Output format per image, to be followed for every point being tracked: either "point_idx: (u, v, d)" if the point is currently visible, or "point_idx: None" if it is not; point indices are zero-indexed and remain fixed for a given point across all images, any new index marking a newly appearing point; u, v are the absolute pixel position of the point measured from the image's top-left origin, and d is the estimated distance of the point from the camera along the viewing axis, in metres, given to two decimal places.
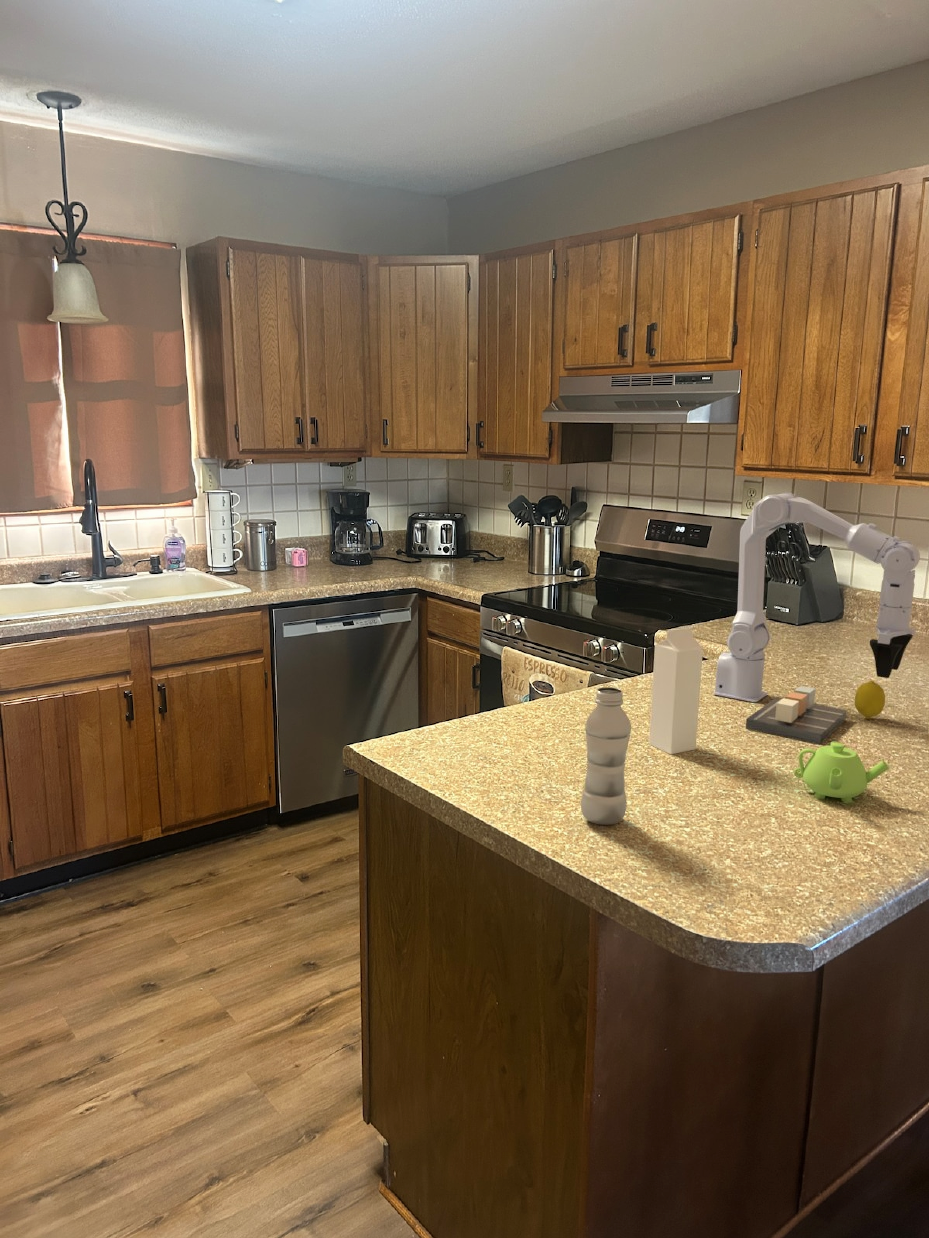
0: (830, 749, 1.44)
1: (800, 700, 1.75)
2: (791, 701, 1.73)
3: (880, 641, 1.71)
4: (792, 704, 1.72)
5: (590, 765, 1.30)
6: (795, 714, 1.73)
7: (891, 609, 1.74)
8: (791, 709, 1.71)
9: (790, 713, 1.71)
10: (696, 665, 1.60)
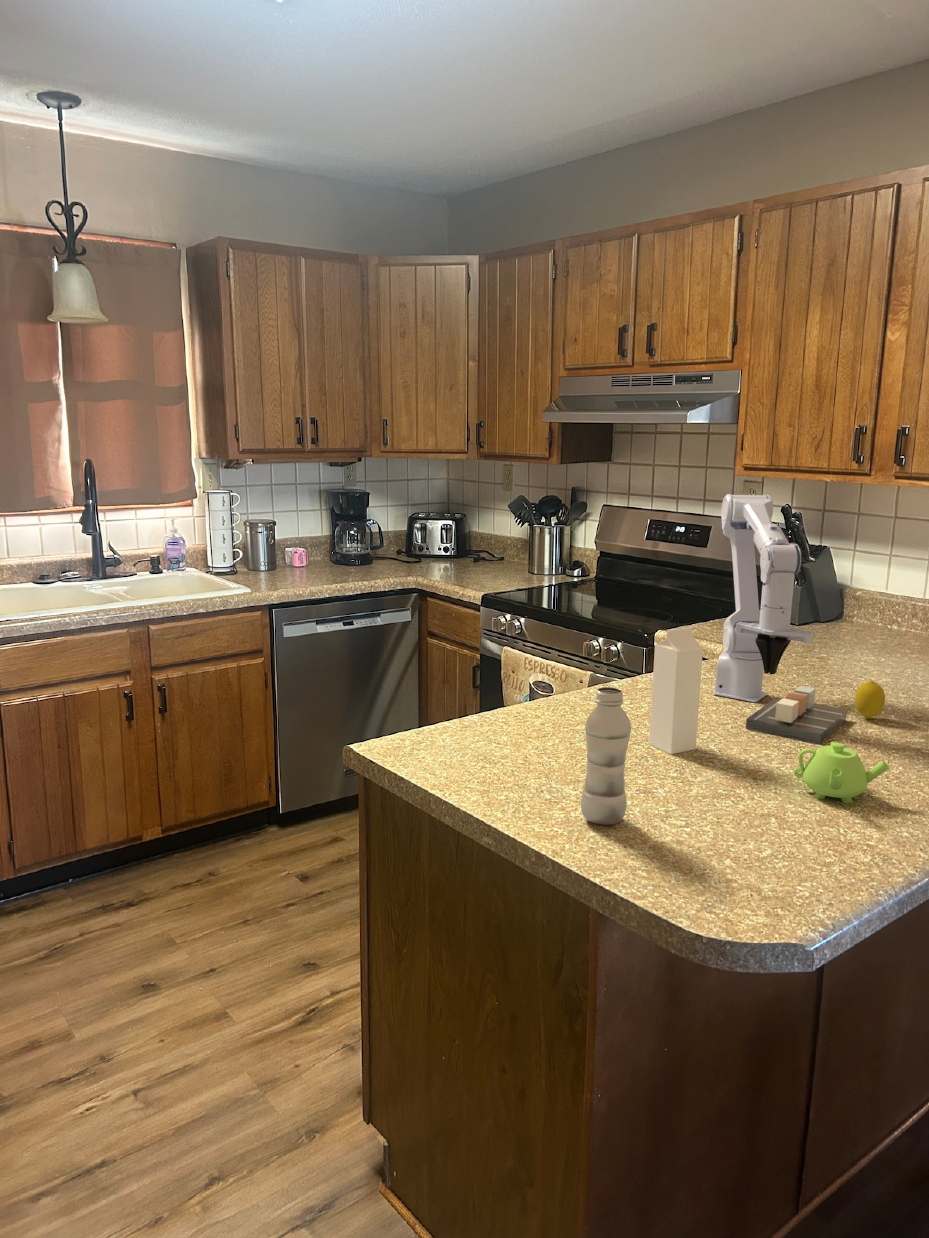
0: (830, 749, 1.44)
1: (800, 700, 1.75)
2: (791, 701, 1.73)
3: None
4: (792, 704, 1.72)
5: (590, 765, 1.30)
6: (795, 714, 1.73)
7: None
8: (791, 709, 1.71)
9: (790, 713, 1.71)
10: (696, 665, 1.60)
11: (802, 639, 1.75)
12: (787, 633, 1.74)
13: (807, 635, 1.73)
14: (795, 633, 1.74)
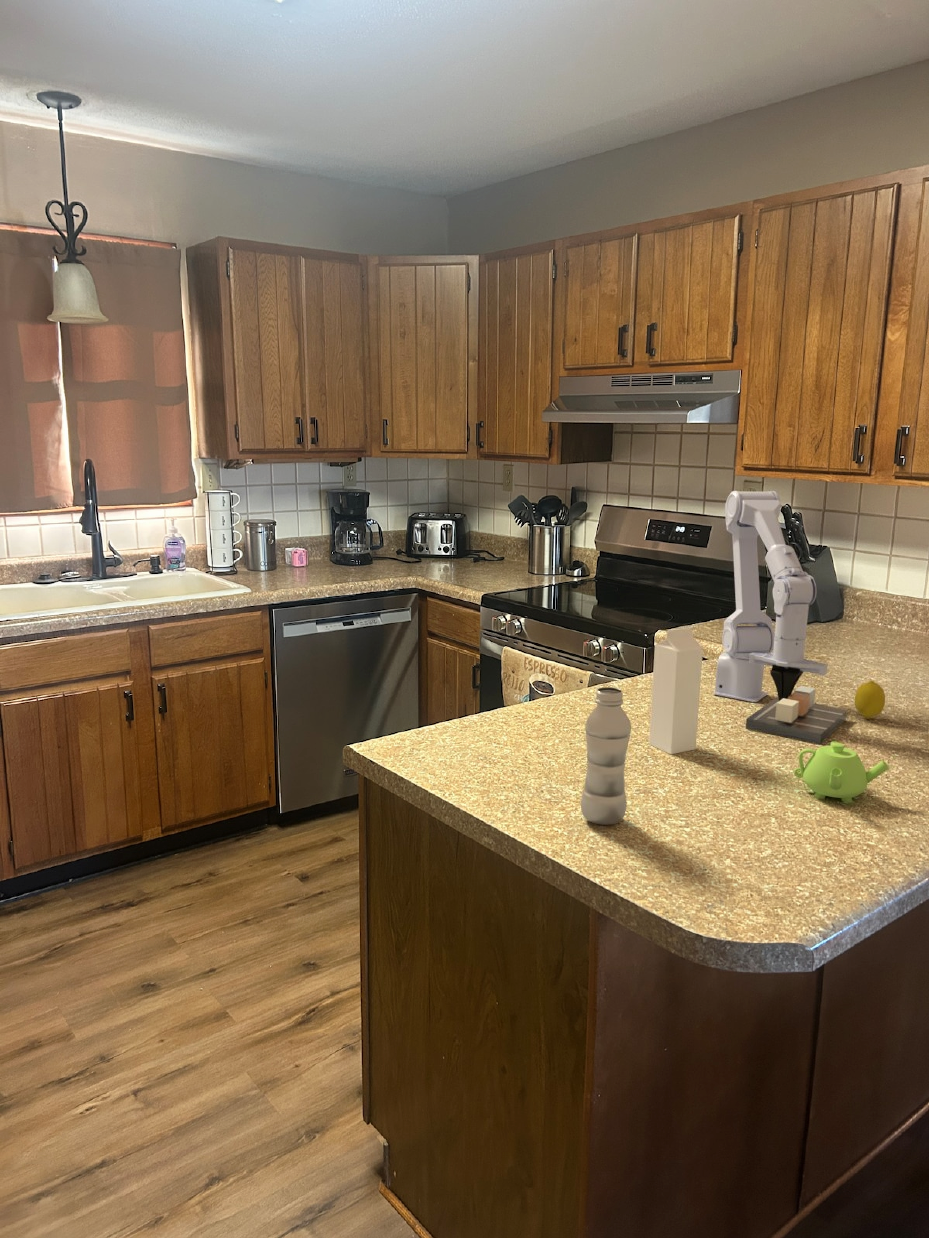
0: (830, 749, 1.44)
1: (802, 700, 1.75)
2: (791, 701, 1.73)
3: None
4: (792, 704, 1.72)
5: (590, 765, 1.30)
6: (795, 714, 1.73)
7: None
8: (791, 709, 1.71)
9: (790, 713, 1.71)
10: (696, 665, 1.60)
11: (816, 671, 1.74)
12: (801, 665, 1.74)
13: (821, 667, 1.72)
14: (809, 665, 1.73)
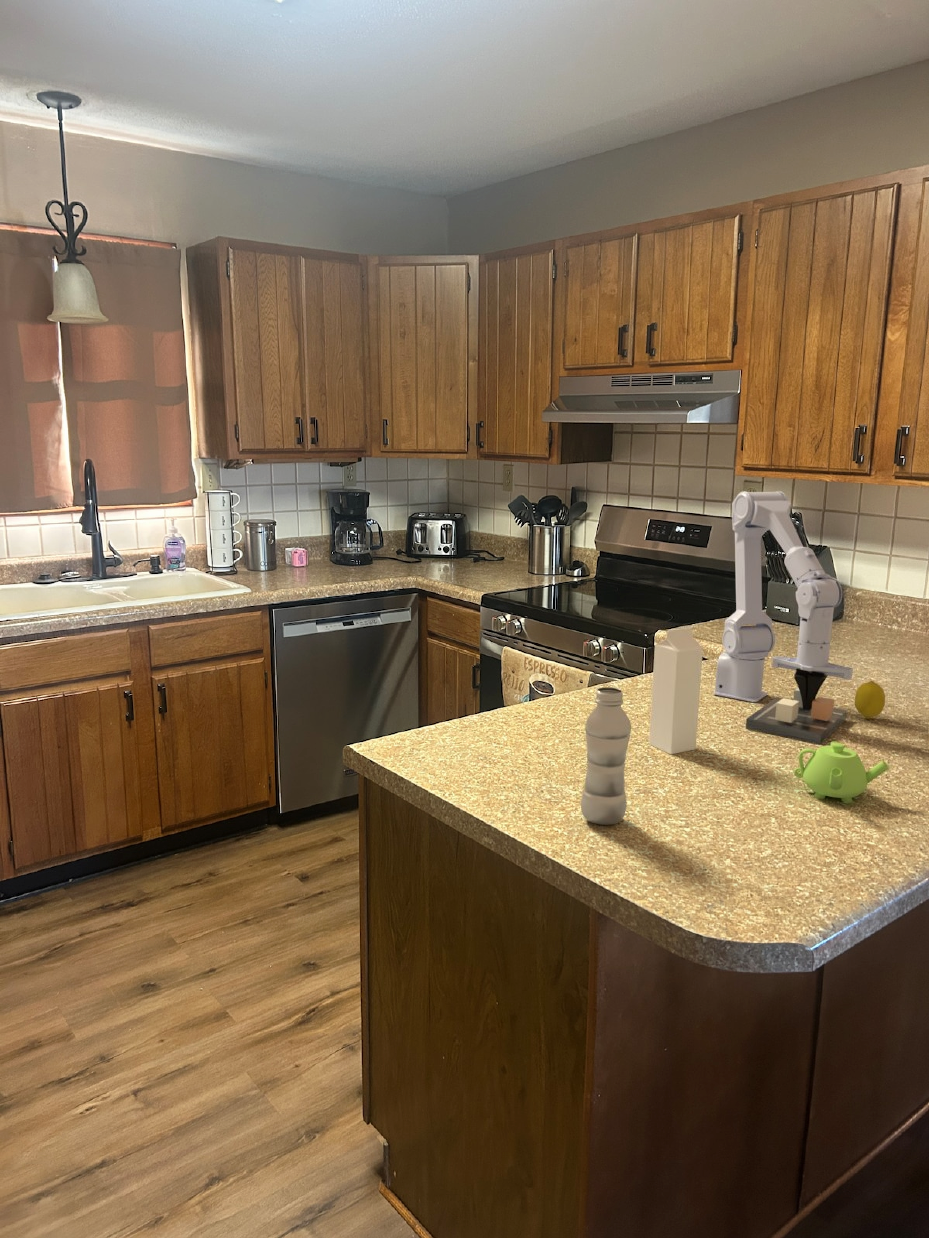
0: (830, 749, 1.44)
1: (827, 705, 1.72)
2: (791, 701, 1.73)
3: None
4: (792, 704, 1.72)
5: (590, 765, 1.30)
6: (795, 714, 1.73)
7: None
8: (791, 709, 1.71)
9: (790, 713, 1.71)
10: (696, 665, 1.60)
11: (841, 675, 1.71)
12: (826, 669, 1.71)
13: (847, 671, 1.70)
14: (834, 669, 1.71)
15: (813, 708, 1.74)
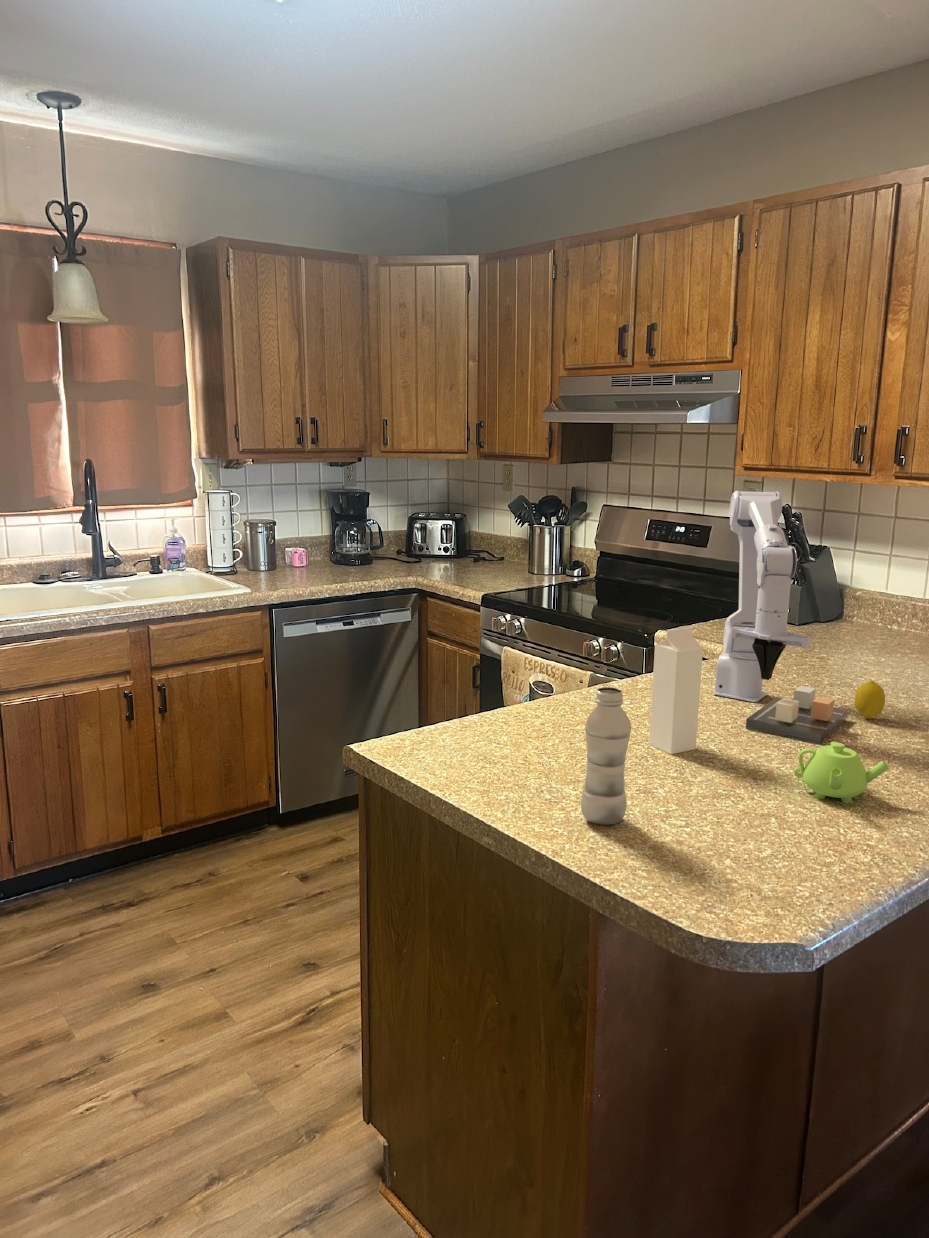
0: (830, 749, 1.44)
1: (827, 705, 1.72)
2: (791, 701, 1.73)
3: None
4: (792, 704, 1.72)
5: (590, 765, 1.30)
6: (795, 714, 1.73)
7: None
8: (791, 709, 1.71)
9: (790, 713, 1.71)
10: (696, 665, 1.60)
11: (798, 644, 1.71)
12: (784, 638, 1.70)
13: (804, 640, 1.69)
14: (792, 638, 1.70)
15: (813, 708, 1.74)
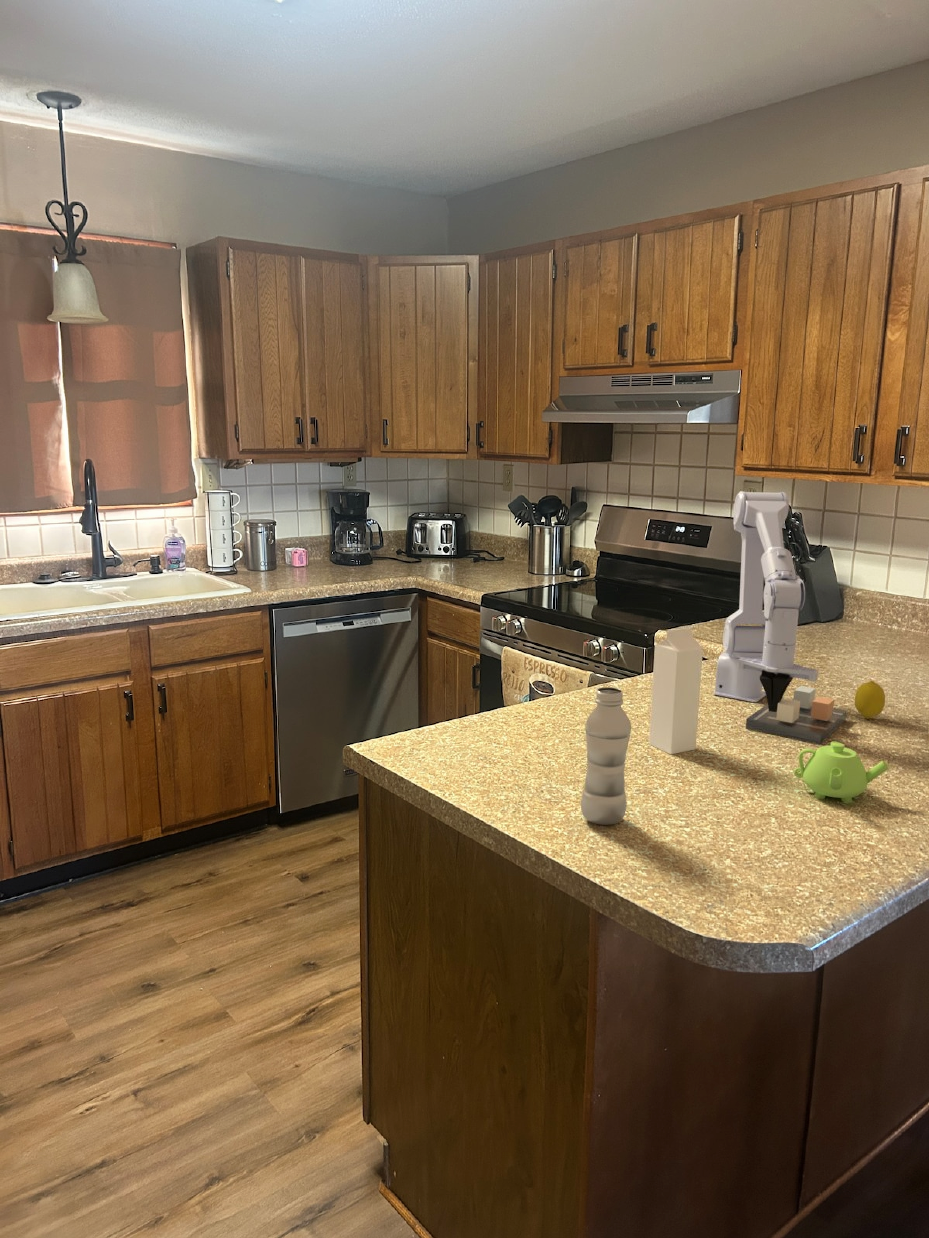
0: (830, 749, 1.44)
1: (827, 705, 1.72)
2: (792, 701, 1.73)
3: None
4: (793, 704, 1.71)
5: (590, 765, 1.30)
6: (796, 714, 1.73)
7: None
8: (792, 709, 1.71)
9: (791, 713, 1.71)
10: (696, 665, 1.60)
11: (806, 677, 1.70)
12: (791, 670, 1.69)
13: (811, 673, 1.68)
14: (799, 671, 1.69)
15: (813, 708, 1.74)
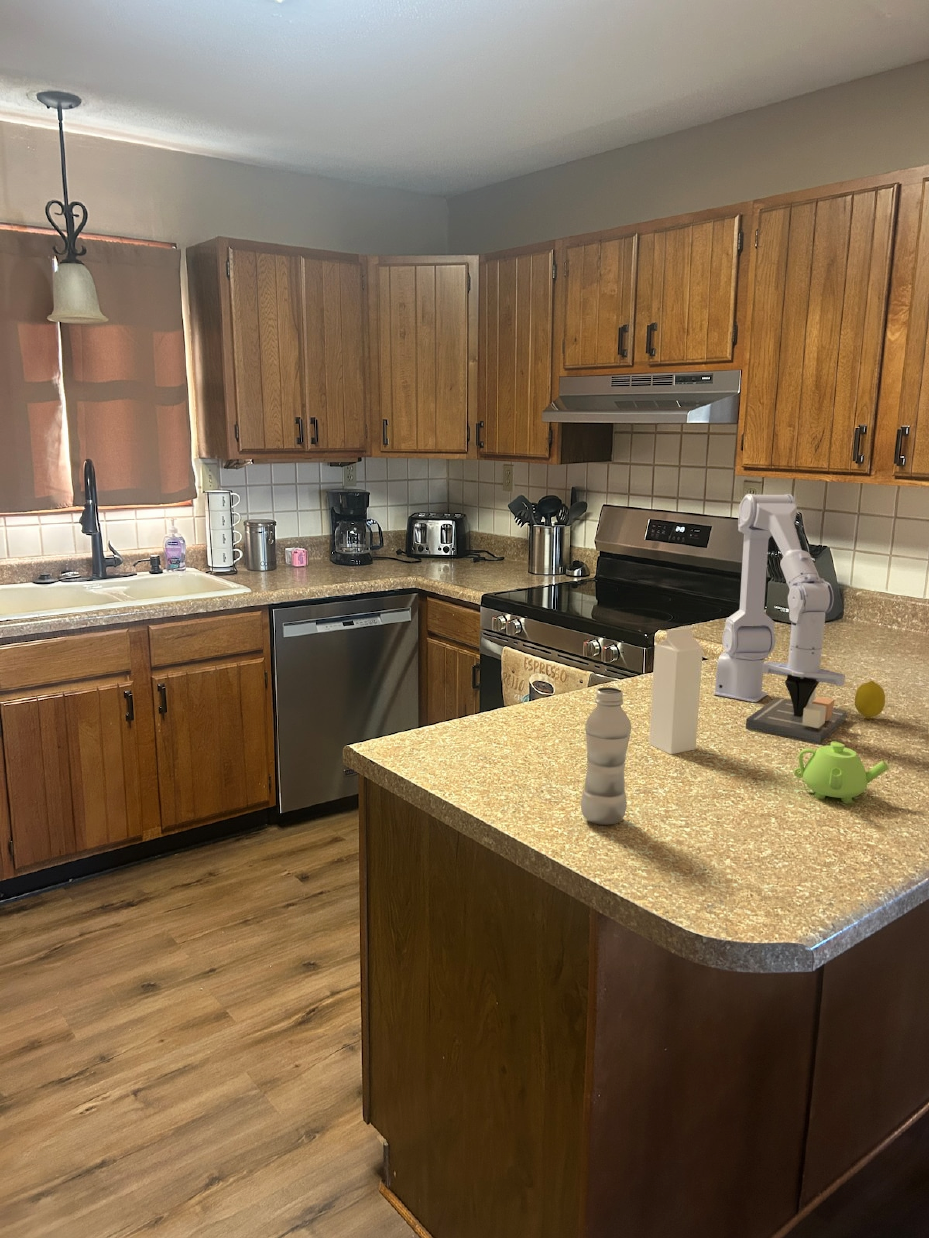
0: (830, 749, 1.44)
1: (827, 705, 1.72)
2: (818, 706, 1.70)
3: None
4: (820, 709, 1.69)
5: (590, 765, 1.30)
6: (822, 719, 1.70)
7: None
8: (819, 714, 1.68)
9: (818, 718, 1.68)
10: (696, 665, 1.60)
11: (833, 681, 1.67)
12: (818, 675, 1.67)
13: (839, 677, 1.66)
14: (826, 675, 1.66)
15: None
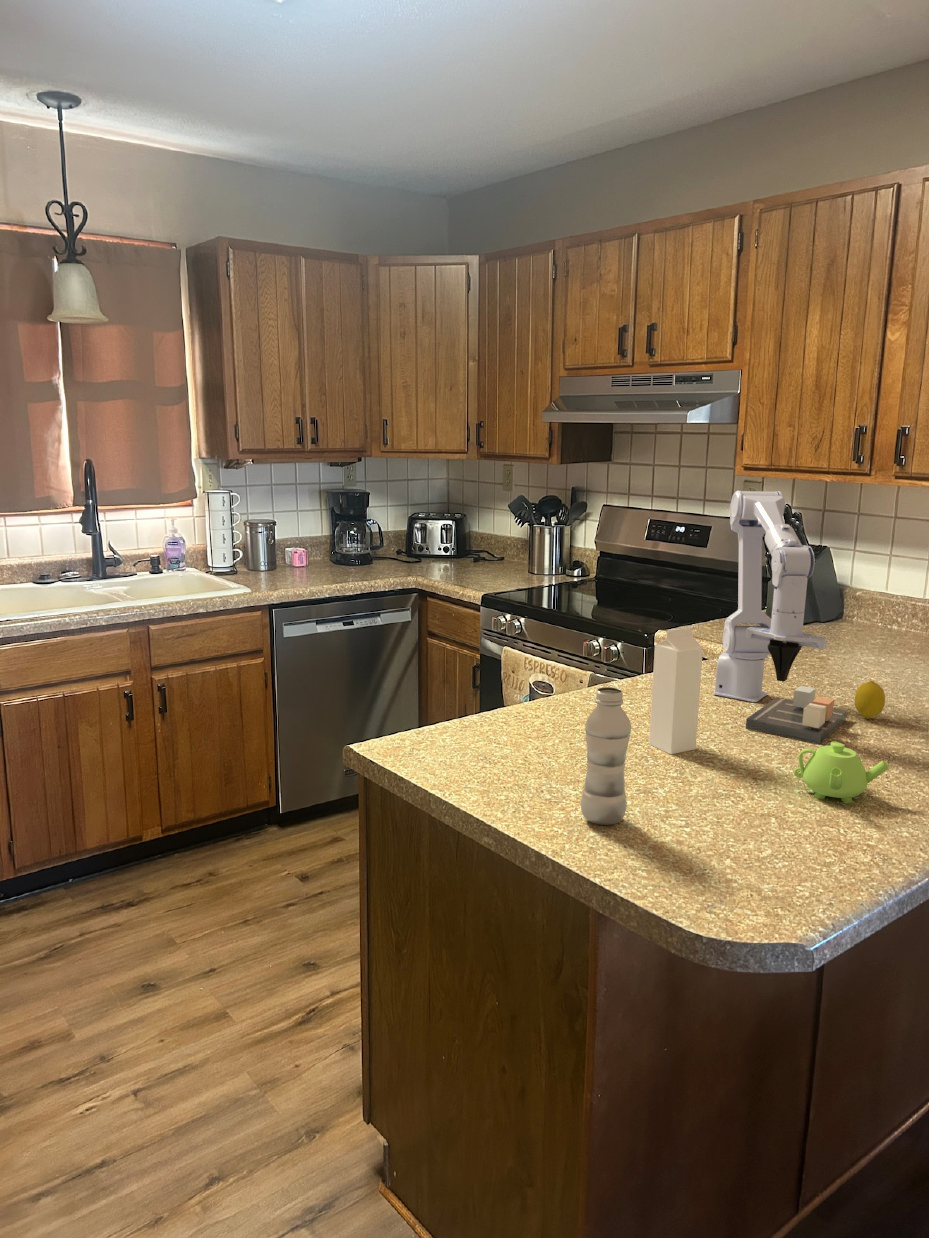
0: (830, 749, 1.44)
1: (827, 705, 1.72)
2: (818, 706, 1.70)
3: None
4: (820, 709, 1.69)
5: (590, 765, 1.30)
6: (822, 719, 1.70)
7: None
8: (819, 714, 1.68)
9: (818, 718, 1.68)
10: (696, 665, 1.60)
11: (815, 645, 1.68)
12: (800, 639, 1.68)
13: (821, 641, 1.66)
14: (808, 639, 1.67)
15: None
